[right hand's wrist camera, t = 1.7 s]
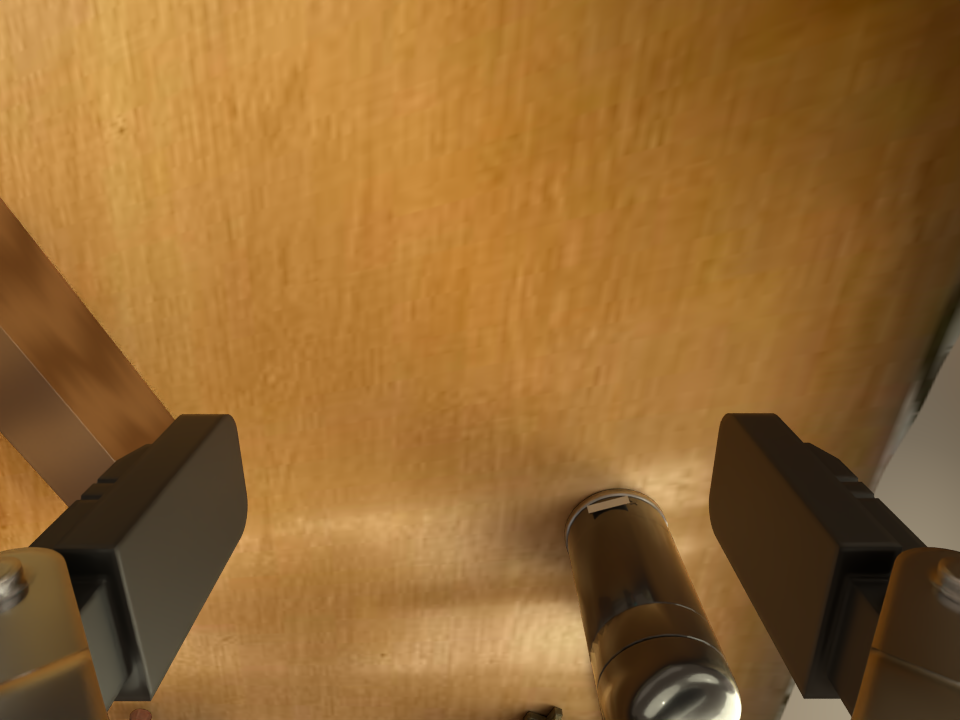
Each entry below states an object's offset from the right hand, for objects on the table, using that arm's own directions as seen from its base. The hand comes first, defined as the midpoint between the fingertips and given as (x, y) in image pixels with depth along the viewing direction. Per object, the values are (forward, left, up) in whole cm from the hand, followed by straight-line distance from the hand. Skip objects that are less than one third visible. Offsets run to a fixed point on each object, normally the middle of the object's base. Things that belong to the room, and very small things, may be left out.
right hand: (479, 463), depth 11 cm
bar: (-7, +35, -41) cm, 54 cm away
